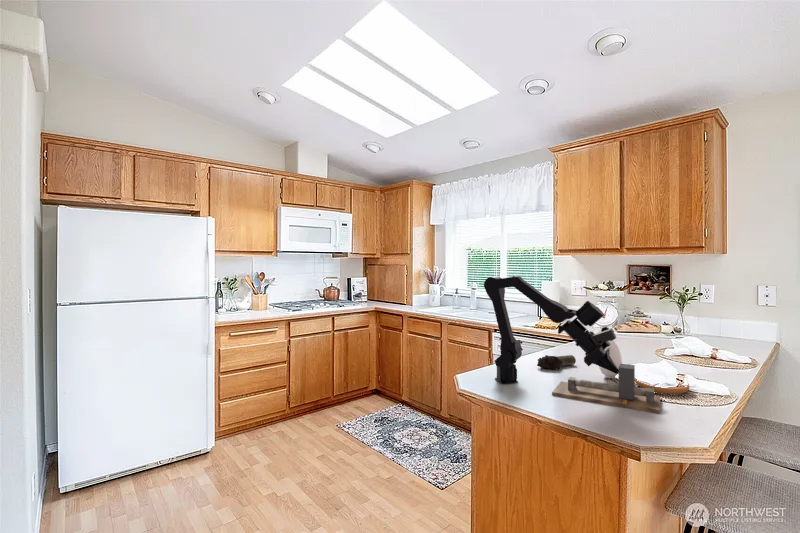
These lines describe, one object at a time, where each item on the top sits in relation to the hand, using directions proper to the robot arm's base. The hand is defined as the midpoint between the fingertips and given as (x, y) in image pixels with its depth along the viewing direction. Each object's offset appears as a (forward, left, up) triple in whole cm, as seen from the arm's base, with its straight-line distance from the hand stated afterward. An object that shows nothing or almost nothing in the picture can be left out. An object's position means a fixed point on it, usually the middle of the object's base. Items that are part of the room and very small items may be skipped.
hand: (618, 372), depth 126 cm
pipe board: (-3, +3, -9) cm, 9 cm away
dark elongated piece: (+4, +39, -9) cm, 41 cm away
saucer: (+22, +6, -9) cm, 25 cm away
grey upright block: (+2, -2, -7) cm, 8 cm away
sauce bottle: (+14, +21, -9) cm, 27 cm away
